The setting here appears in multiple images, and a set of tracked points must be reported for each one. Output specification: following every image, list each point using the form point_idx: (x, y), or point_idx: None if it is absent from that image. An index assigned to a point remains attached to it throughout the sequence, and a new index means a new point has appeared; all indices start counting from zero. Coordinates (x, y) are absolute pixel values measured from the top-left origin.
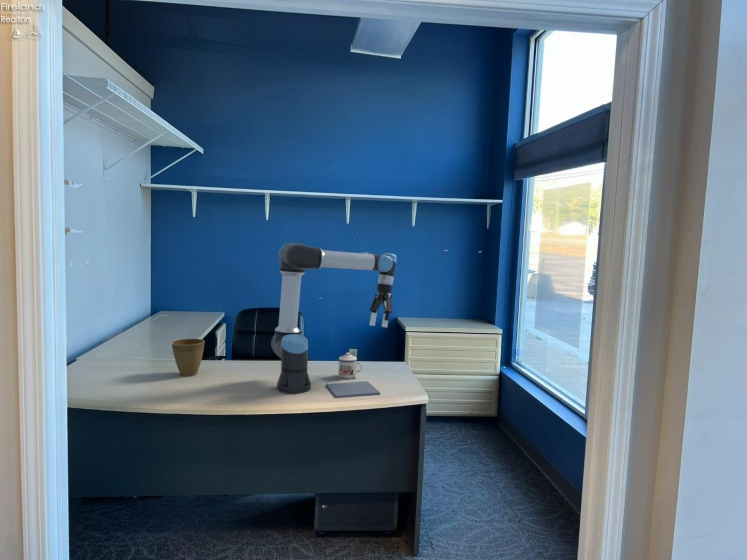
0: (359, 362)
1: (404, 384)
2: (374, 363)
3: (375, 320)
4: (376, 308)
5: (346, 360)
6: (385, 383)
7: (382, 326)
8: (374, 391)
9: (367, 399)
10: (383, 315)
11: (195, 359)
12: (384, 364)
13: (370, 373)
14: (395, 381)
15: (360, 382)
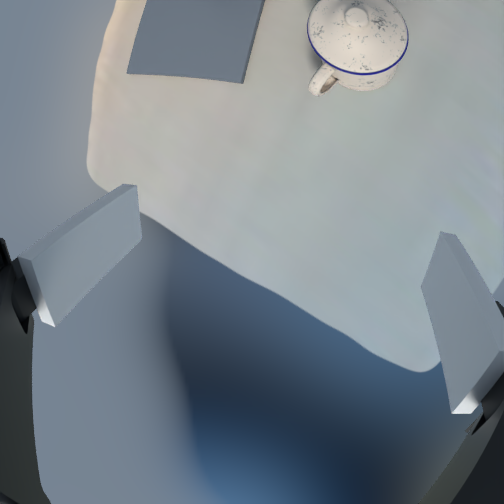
0: (320, 77)
1: (173, 197)
2: None
3: (434, 327)
4: (454, 467)
5: (317, 3)
6: (207, 141)
7: (122, 187)
8: (139, 60)
9: (117, 30)
10: (50, 244)
11: None
12: None
13: (355, 167)
14: (212, 190)
15: (236, 51)
